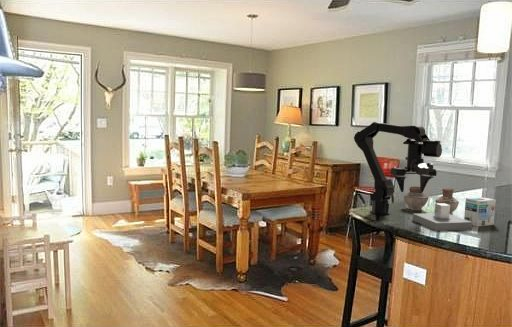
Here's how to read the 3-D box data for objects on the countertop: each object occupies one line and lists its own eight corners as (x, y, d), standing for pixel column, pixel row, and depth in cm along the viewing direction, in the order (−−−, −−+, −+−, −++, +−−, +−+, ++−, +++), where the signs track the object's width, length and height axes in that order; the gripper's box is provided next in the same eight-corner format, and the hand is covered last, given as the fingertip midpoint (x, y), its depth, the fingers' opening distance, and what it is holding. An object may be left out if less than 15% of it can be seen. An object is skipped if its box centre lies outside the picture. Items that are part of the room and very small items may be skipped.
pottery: (453, 218, 189) (455, 191, 187) (398, 209, 205) (400, 184, 204) (461, 214, 197) (463, 189, 196) (408, 206, 213) (409, 182, 212)
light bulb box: (477, 227, 174) (479, 200, 173) (462, 223, 180) (464, 197, 179) (494, 224, 179) (496, 199, 178) (479, 221, 185) (481, 196, 184)
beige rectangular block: (439, 224, 173) (441, 205, 172) (433, 222, 177) (435, 203, 176) (448, 224, 174) (450, 205, 173) (442, 222, 178) (444, 203, 177)
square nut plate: (435, 230, 166) (436, 223, 166) (412, 220, 182) (413, 213, 181) (471, 229, 169) (472, 222, 169) (446, 219, 185) (446, 213, 185)
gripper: (404, 157, 171) (402, 195, 173) (446, 157, 175) (443, 195, 176) (390, 154, 182) (388, 190, 183) (430, 155, 186) (427, 190, 187)
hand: (412, 191), depth 182 cm, fingers open, 9 cm apart
